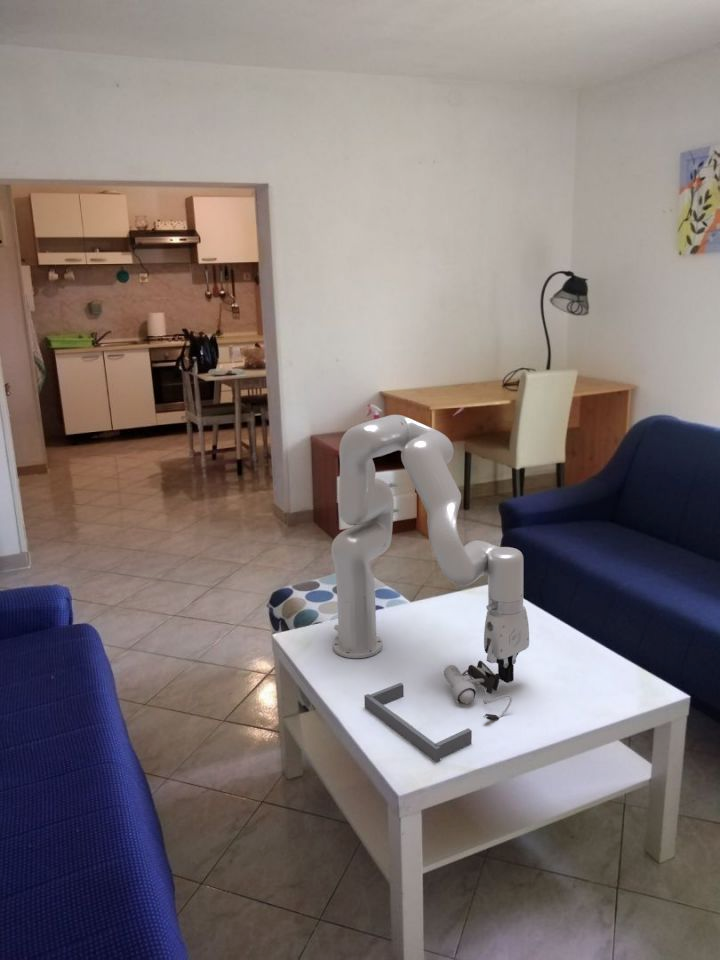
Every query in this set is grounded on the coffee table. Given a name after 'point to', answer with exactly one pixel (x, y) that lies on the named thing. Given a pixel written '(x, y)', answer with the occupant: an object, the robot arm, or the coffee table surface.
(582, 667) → the coffee table surface
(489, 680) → the clip-on lamp
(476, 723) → the coffee table surface
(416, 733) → the grey u-shaped handle
